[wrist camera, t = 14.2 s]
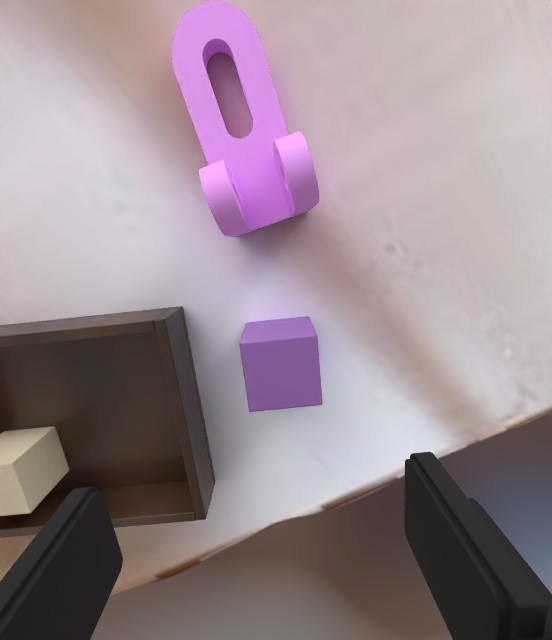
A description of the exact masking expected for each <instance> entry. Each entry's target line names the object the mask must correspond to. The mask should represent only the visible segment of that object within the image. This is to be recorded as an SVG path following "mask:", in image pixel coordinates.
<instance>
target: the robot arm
mask: <svg viewBox="0 0 552 640" xmlns="http://www.w3.org/2000/svg"><path fill="white" fill-rule="evenodd" d="M405 534H406V537H407V540H408V543H409V545H410V547H411V549H412V552H413V554H414V556H415V558H416V560H417V562H418V564H419V567H420V569H421V571H422V573H423V575H424V578H425V580H426V582H427V584H428V586H429V588H430V591H431V593H432V595H433V597H434V599H435V602H436V604H437V606H438V608H439V610H440V612H441V615H442V617H443V619H444V621H445V623H446V625H447V628H448V630H449V632H450V634H451V636H452V638H453V640H552V594H551V593H550V591H549V590H548V589H547V588H546V586H545V585H544V584H543V583H542V581H541V580H540V579H539V578H538V576H537V575H536V574H535V573H534V571H533V570H532V569H531V568H530V567H529V565H528V564H527V563H526V561H525V560H524V559H523V558H522V556H521V555H520V554H519V553H518V552H517V550H516V549H515V547H514V546H513V545H512V544H511V542H510V541H509V540H508V539H507V537H506V536H505V535H504V534H503V532H502V531H501V530H500V529H499V528H498V526H497V525H496V524H495V522H494V521H493V520H492V519H491V517H490V516H489V515H488V514H487V512H486V511H485V510H484V509H483V507H482V506H481V505H480V504H479V503H478V502H477V501H476V500H474V499H473V498H467V497H466V496H465V495H464V493H463V492H462V491H461V489H460V488H459V487H458V485H457V484H456V483H455V482H454V480H453V479H452V478H451V476H450V475H449V474H448V472H447V471H446V470H445V469H444V467H443V466H442V465H441V463H440V462H439V461H438V459H437V458H436V457H435V455H434V454H433V453H431V452H423V453H413V454H411V456H410V459H407V460H406V461H405ZM122 562H123V558H122V553H121V550H120V547H119V544H118V540H117V537H116V534H115V531H114V527H113V524H112V521H111V518H110V514H109V511H108V508H107V505H106V501H105V498H104V495H103V493H102V492H101V491H98V489H97V488H96V487H84V488H75V489H73V490H72V491H71V492H70V493H69V495H68V496H67V497H66V498H65V500H64V501H63V502H62V503H61V505H60V506H59V507H58V509H57V510H56V511H55V512H54V514H53V515H52V516H51V517H50V519H49V520H48V521H47V523H46V524H45V525H44V526H43V528H42V529H41V530H40V532H39V533H38V534H37V535H36V537H35V538H34V539H33V540H32V542H31V543H30V544H29V546H28V547H27V548H26V549H25V551H24V552H23V553H22V555H21V556H20V557H19V558H18V560H17V561H16V562H15V563H14V565H13V566H12V567H11V569H10V570H9V571H8V572H7V574H6V575H5V576H4V577H3V579H2V580H1V581H0V640H90V638H91V636H92V634H93V632H94V629H95V627H96V625H97V623H98V620H99V618H100V616H101V614H102V611H103V609H104V607H105V605H106V602H107V600H108V598H109V596H110V594H111V591H112V589H113V587H114V585H115V582H116V580H117V578H118V576H119V573H120V571H121V568H122Z"/></svg>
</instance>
